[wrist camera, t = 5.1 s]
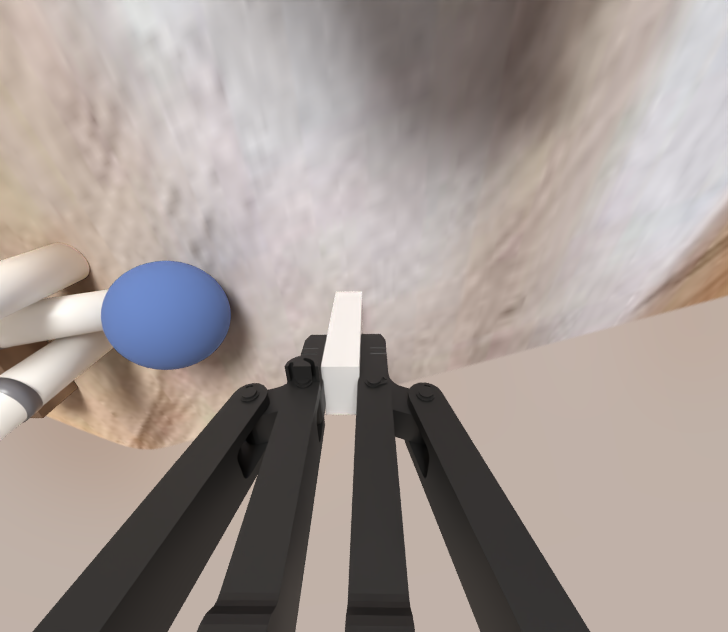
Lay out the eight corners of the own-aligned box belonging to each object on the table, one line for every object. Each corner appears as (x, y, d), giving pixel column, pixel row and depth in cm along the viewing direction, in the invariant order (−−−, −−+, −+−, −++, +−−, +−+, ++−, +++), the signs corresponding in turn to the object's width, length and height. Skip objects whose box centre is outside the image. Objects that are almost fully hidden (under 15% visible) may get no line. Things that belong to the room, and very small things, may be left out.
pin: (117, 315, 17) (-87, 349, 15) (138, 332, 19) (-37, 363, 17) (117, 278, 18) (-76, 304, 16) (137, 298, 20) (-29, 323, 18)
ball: (98, 290, 18) (208, 270, 21) (131, 386, 18) (236, 352, 21) (65, 254, 13) (216, 236, 16) (112, 388, 13) (253, 343, 16)
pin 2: (127, 326, 21) (-2, 428, 14) (119, 350, 22) (-5, 456, 15) (88, 308, 20) (-71, 405, 13) (82, 333, 21) (-68, 436, 14)
